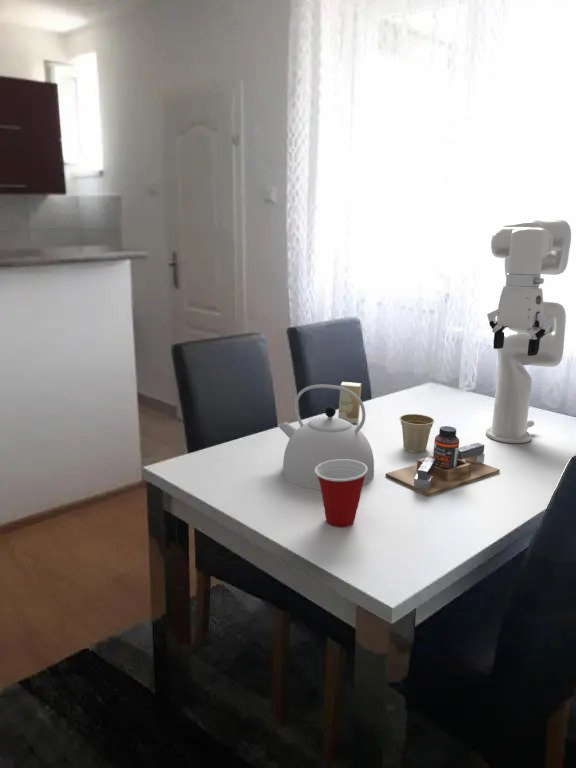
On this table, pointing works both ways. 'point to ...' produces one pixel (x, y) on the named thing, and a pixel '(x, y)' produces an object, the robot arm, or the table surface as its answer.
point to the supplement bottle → (446, 448)
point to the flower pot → (416, 431)
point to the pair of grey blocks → (468, 453)
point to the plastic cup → (341, 489)
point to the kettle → (324, 444)
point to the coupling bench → (443, 476)
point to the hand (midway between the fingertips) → (514, 351)
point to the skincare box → (349, 402)
